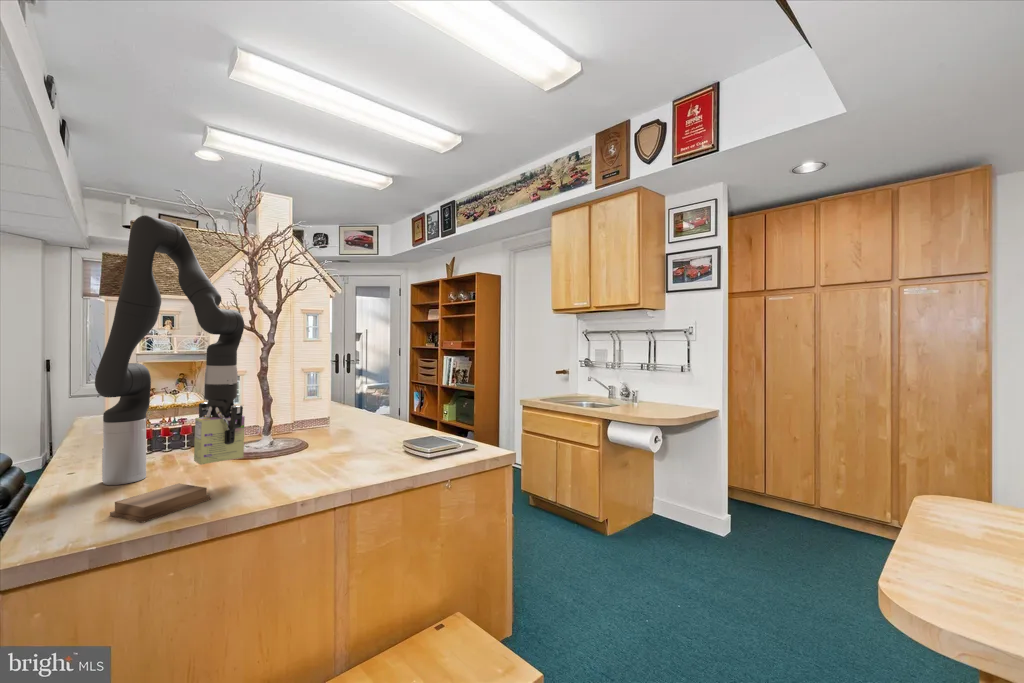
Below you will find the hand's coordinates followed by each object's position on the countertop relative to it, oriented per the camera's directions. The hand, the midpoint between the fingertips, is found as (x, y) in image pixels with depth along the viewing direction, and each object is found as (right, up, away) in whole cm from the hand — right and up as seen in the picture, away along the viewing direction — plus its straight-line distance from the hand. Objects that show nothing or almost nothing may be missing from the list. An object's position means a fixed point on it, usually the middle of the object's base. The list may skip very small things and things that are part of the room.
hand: (219, 441), depth 121 cm
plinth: (-3, -12, -16) cm, 20 cm away
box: (0, -5, 0) cm, 5 cm away
